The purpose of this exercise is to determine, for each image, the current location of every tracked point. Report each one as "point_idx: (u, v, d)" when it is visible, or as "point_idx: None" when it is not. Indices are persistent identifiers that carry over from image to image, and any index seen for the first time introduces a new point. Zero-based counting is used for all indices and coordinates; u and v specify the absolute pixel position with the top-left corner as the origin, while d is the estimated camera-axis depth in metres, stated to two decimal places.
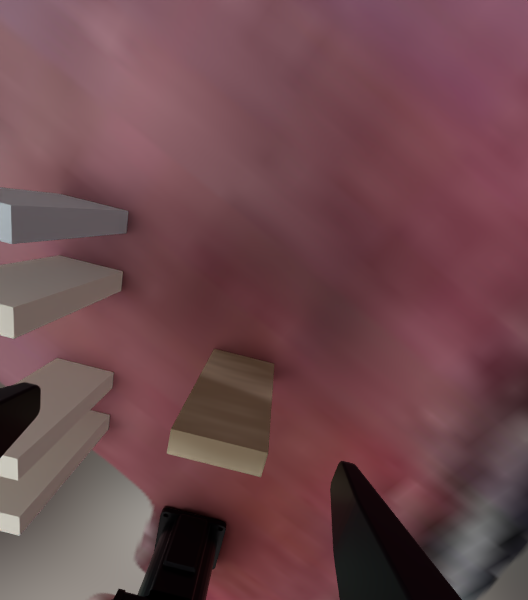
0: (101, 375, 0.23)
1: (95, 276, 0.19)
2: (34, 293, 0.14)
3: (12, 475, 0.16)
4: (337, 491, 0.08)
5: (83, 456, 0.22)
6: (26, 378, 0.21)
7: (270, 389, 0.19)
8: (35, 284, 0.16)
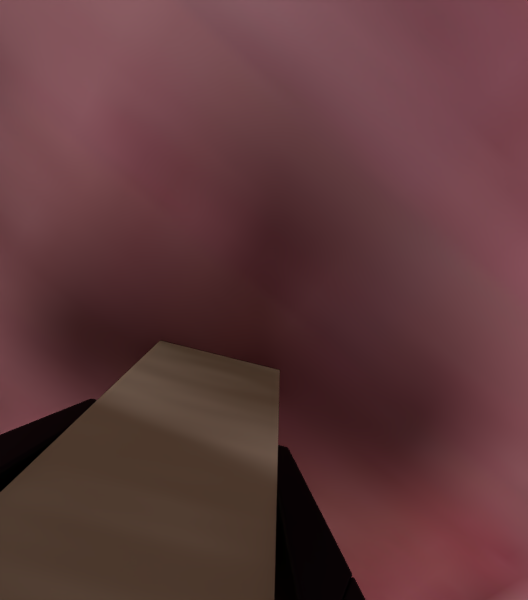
0: None
1: None
2: None
3: None
4: None
5: None
6: None
7: (273, 433, 0.08)
8: None
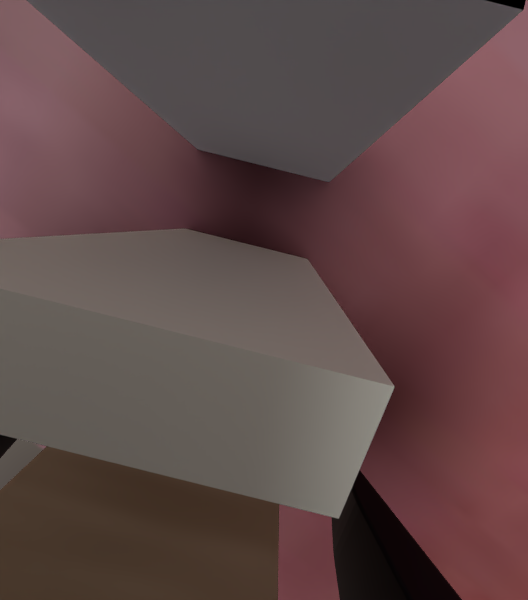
0: None
1: (298, 265, 0.09)
2: (307, 307, 0.04)
3: None
4: None
5: None
6: None
7: None
8: (253, 278, 0.05)
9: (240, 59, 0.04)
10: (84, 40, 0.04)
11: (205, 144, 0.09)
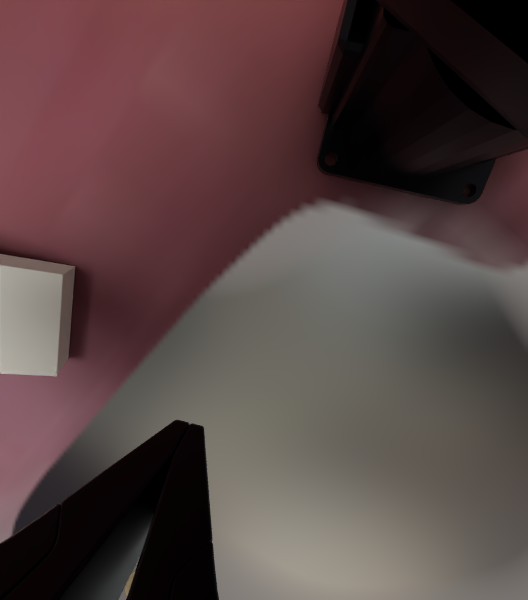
0: None
1: None
2: None
3: None
4: None
5: None
6: None
7: None
8: None
9: None
10: None
11: None
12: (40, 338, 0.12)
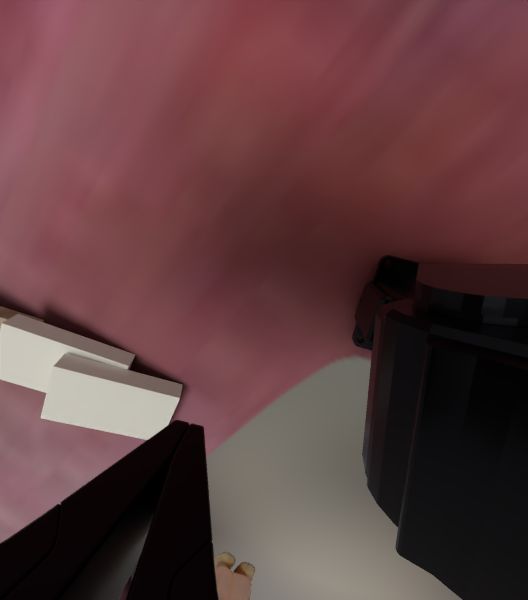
0: None
1: None
2: None
3: (3, 325, 0.20)
4: None
5: (137, 384, 0.21)
6: None
7: None
8: None
9: None
10: None
11: None
12: (158, 424, 0.23)
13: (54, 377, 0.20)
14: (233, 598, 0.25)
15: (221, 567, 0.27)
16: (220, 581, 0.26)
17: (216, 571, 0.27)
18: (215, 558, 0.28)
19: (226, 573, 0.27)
